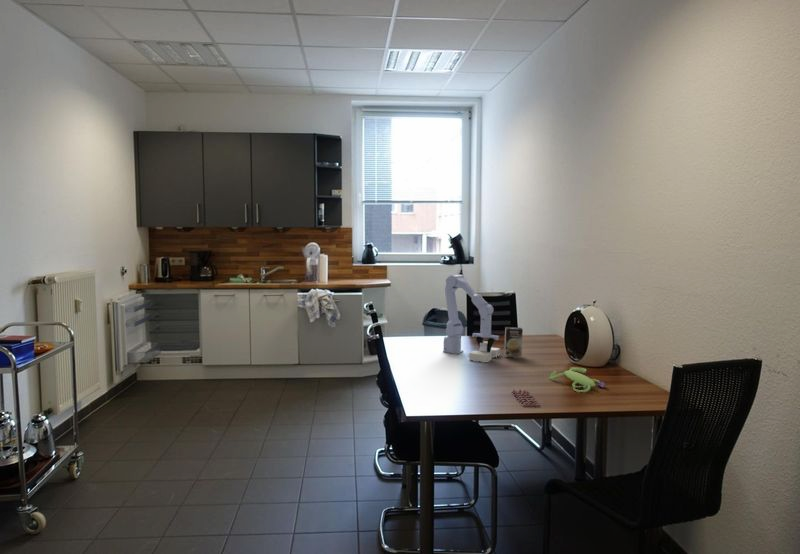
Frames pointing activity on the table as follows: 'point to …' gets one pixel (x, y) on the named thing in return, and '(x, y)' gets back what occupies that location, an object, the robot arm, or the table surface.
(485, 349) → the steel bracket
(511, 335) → the coffee box
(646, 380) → the table surface
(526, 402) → the chocolate bar
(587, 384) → the figurine
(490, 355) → the white block pair
